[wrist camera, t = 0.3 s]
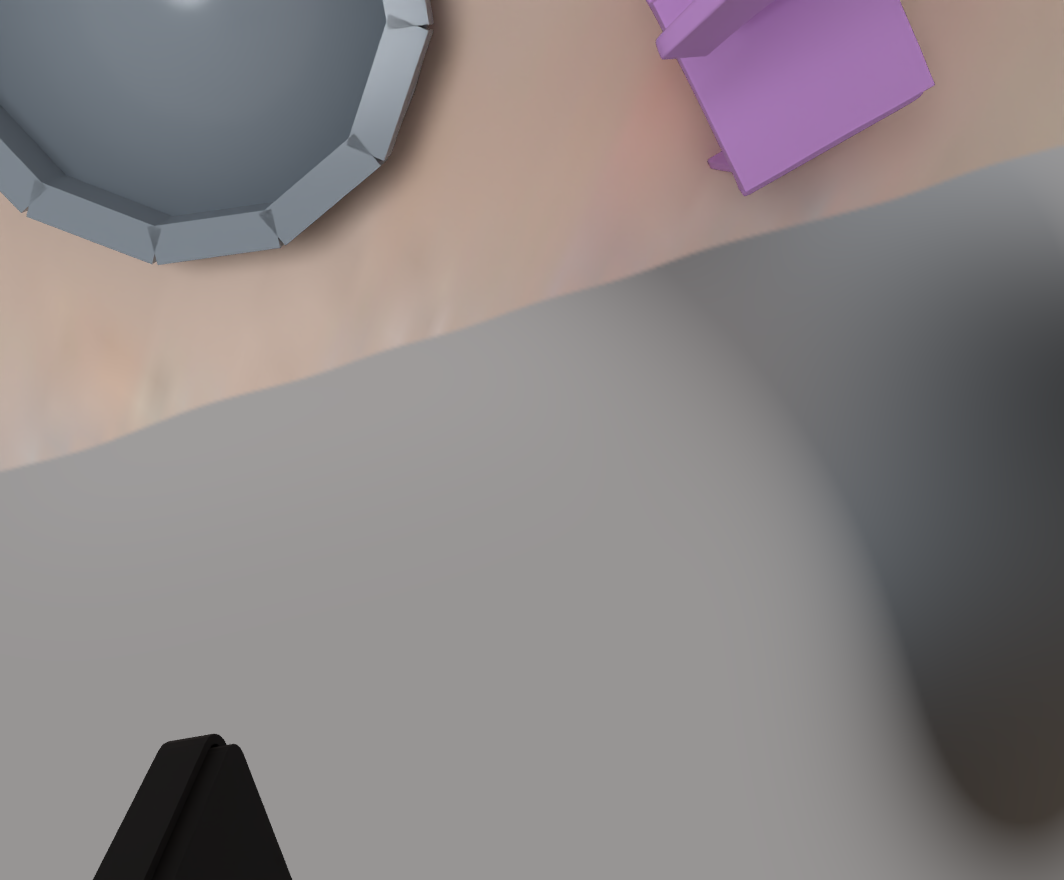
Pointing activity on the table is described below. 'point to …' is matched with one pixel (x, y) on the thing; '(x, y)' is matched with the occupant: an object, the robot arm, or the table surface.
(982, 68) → the table surface
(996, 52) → the table surface
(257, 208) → the round tray
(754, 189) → the toy chair
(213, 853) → the robot arm
